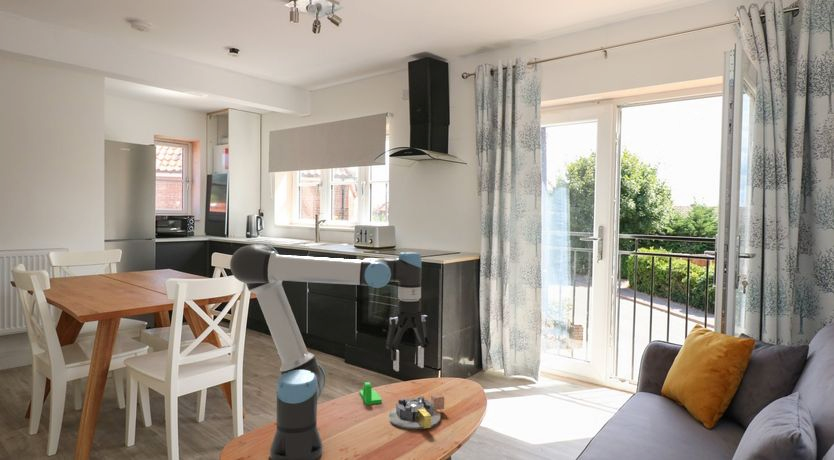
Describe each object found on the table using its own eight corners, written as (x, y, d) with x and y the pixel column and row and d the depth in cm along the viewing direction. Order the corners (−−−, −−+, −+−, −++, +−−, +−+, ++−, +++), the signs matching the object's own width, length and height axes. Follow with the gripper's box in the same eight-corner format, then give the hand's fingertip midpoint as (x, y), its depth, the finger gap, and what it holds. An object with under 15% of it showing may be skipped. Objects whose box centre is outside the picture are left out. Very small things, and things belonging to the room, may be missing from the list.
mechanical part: (381, 404, 184) (381, 383, 184) (366, 406, 182) (366, 385, 182) (373, 394, 196) (374, 374, 196) (359, 395, 194) (359, 375, 194)
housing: (398, 432, 159) (398, 414, 159) (383, 412, 176) (383, 396, 176) (456, 424, 166) (456, 407, 166) (436, 405, 183) (436, 390, 183)
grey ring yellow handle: (392, 409, 174) (393, 397, 174) (425, 405, 178) (425, 394, 178) (409, 430, 157) (409, 417, 157) (444, 425, 161) (445, 413, 161)
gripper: (384, 303, 151) (383, 375, 151) (443, 299, 160) (442, 367, 160) (375, 299, 157) (374, 369, 158) (432, 296, 167) (431, 361, 167)
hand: (408, 368), depth 159 cm, fingers open, 8 cm apart
